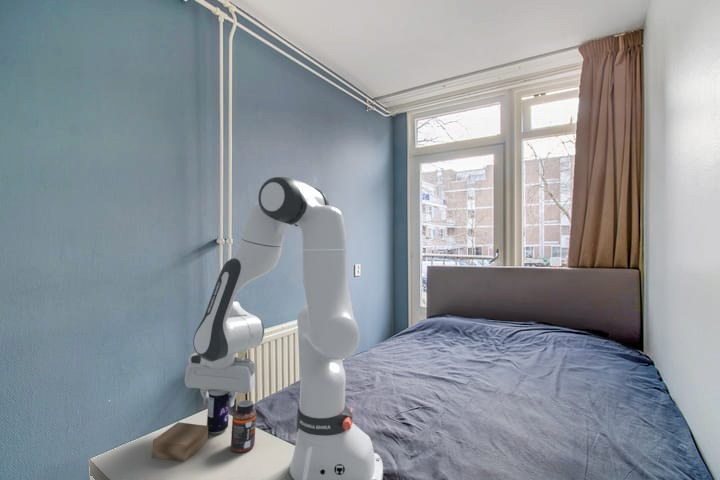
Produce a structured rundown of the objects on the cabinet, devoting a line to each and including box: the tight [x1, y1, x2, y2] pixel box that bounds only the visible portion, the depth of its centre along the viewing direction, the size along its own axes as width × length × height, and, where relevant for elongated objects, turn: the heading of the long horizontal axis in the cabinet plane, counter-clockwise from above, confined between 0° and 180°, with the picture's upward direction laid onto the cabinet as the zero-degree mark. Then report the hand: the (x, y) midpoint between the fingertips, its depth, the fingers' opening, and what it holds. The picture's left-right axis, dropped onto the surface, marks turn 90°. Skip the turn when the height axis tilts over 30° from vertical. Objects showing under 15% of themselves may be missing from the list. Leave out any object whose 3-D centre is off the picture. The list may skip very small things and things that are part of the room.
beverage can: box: [206, 390, 231, 435], centre depth 93 cm, size 6×6×12 cm
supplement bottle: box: [230, 399, 257, 453], centre depth 85 cm, size 6×6×11 cm
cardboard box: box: [151, 421, 209, 463], centre depth 83 cm, size 9×9×4 cm
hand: (218, 404), depth 93 cm, fingers closed on beverage can, 6 cm apart
